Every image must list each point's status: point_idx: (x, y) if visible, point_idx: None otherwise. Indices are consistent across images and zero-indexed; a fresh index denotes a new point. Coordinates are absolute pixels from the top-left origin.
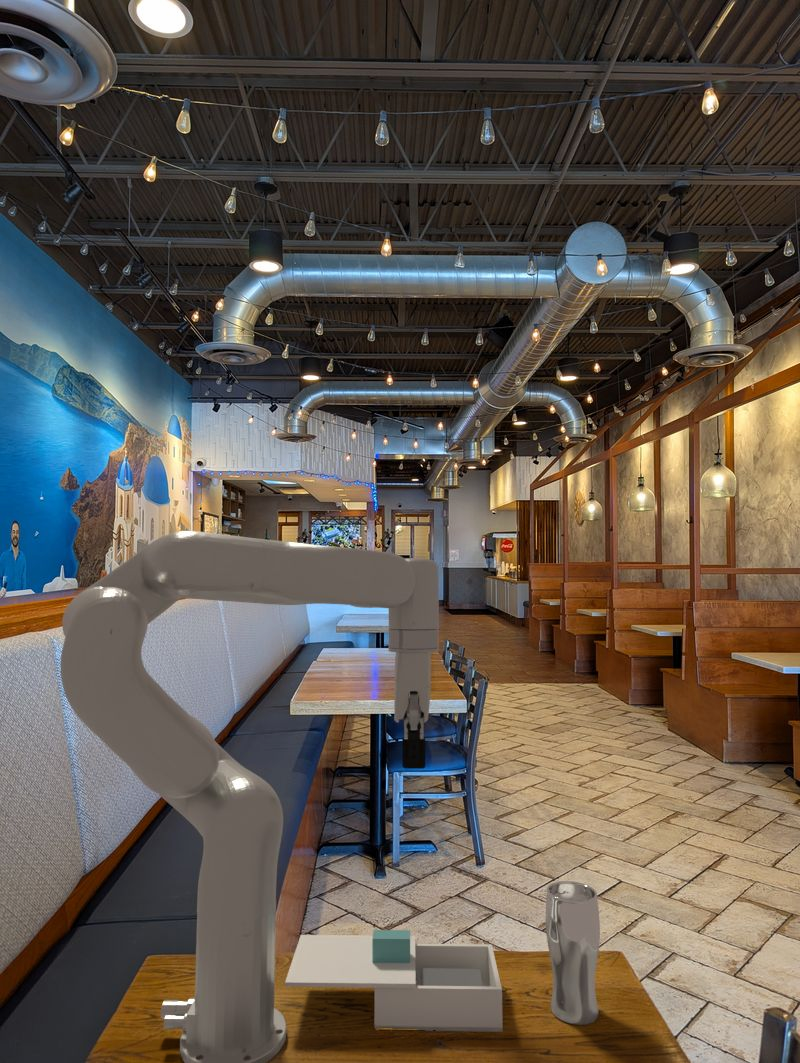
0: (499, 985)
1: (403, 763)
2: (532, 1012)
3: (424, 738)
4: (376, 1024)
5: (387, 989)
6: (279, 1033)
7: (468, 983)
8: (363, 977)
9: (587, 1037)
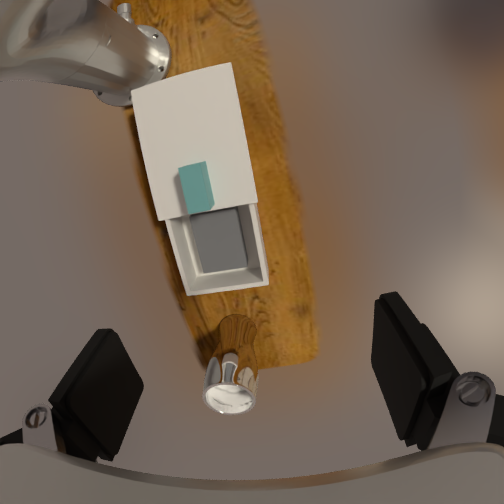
0: (192, 293)
1: (93, 338)
2: (228, 300)
3: (108, 459)
4: None
5: None
6: None
7: (217, 258)
8: (155, 165)
9: (207, 334)
